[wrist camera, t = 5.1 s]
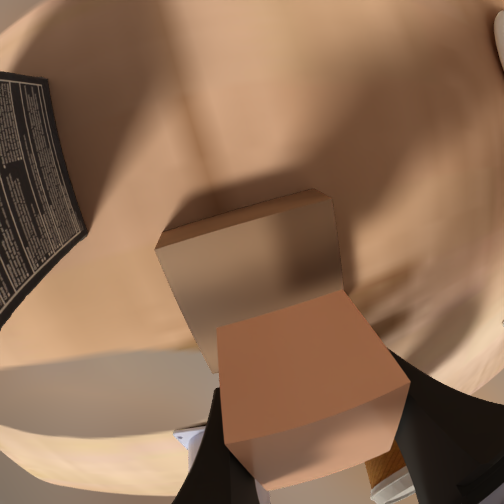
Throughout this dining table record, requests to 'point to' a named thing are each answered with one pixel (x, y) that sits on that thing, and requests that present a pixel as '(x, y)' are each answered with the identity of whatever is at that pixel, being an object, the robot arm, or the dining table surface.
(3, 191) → the small box
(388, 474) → the disposable coffee cup
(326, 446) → the terracotta cube
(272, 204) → the walnut block
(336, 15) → the dining table surface
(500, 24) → the flower in vase
